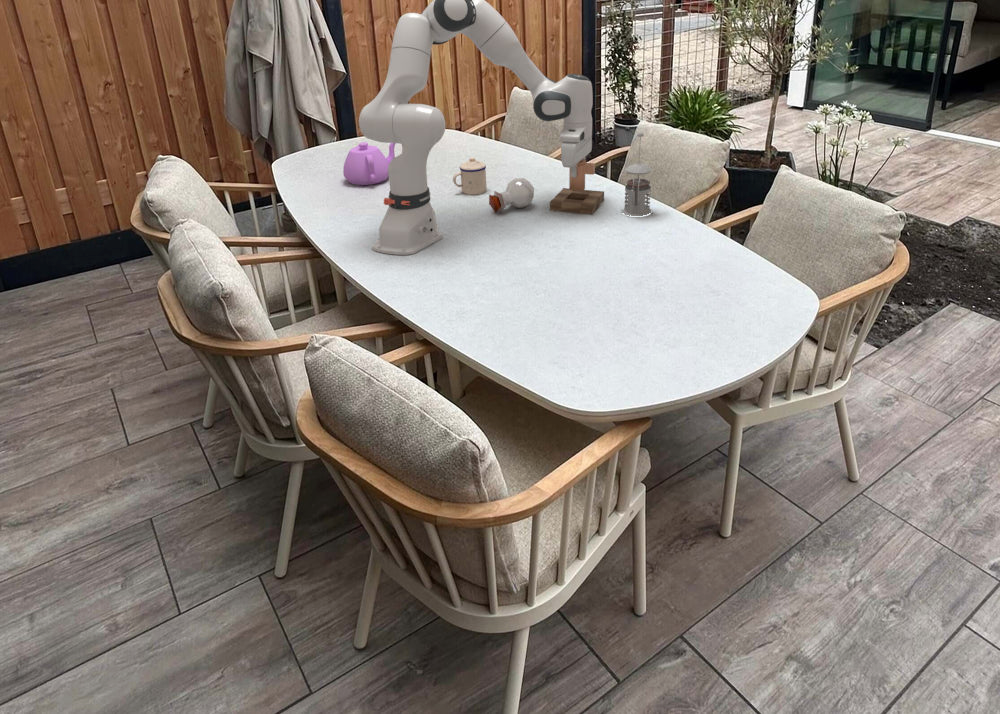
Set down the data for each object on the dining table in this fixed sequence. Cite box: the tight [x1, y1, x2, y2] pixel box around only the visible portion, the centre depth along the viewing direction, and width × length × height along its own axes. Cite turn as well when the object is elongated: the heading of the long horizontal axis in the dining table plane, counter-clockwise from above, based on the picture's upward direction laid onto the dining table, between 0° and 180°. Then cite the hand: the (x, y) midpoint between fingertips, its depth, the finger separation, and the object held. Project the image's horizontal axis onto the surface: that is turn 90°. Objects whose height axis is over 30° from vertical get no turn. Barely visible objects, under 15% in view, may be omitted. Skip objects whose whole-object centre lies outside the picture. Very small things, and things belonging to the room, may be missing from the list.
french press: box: [621, 131, 653, 216], centre depth 234 cm, size 10×12×25 cm
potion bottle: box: [488, 177, 535, 214], centre depth 247 cm, size 9×10×15 cm
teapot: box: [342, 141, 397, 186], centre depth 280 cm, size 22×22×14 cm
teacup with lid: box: [452, 156, 487, 196], centre depth 263 cm, size 12×9×12 cm
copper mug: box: [568, 158, 596, 191], centre depth 242 cm, size 8×5×9 cm, turn 68°
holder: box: [549, 187, 605, 216], centre depth 248 cm, size 14×14×3 cm
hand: (577, 173), depth 243 cm, fingers closed on copper mug, 5 cm apart
